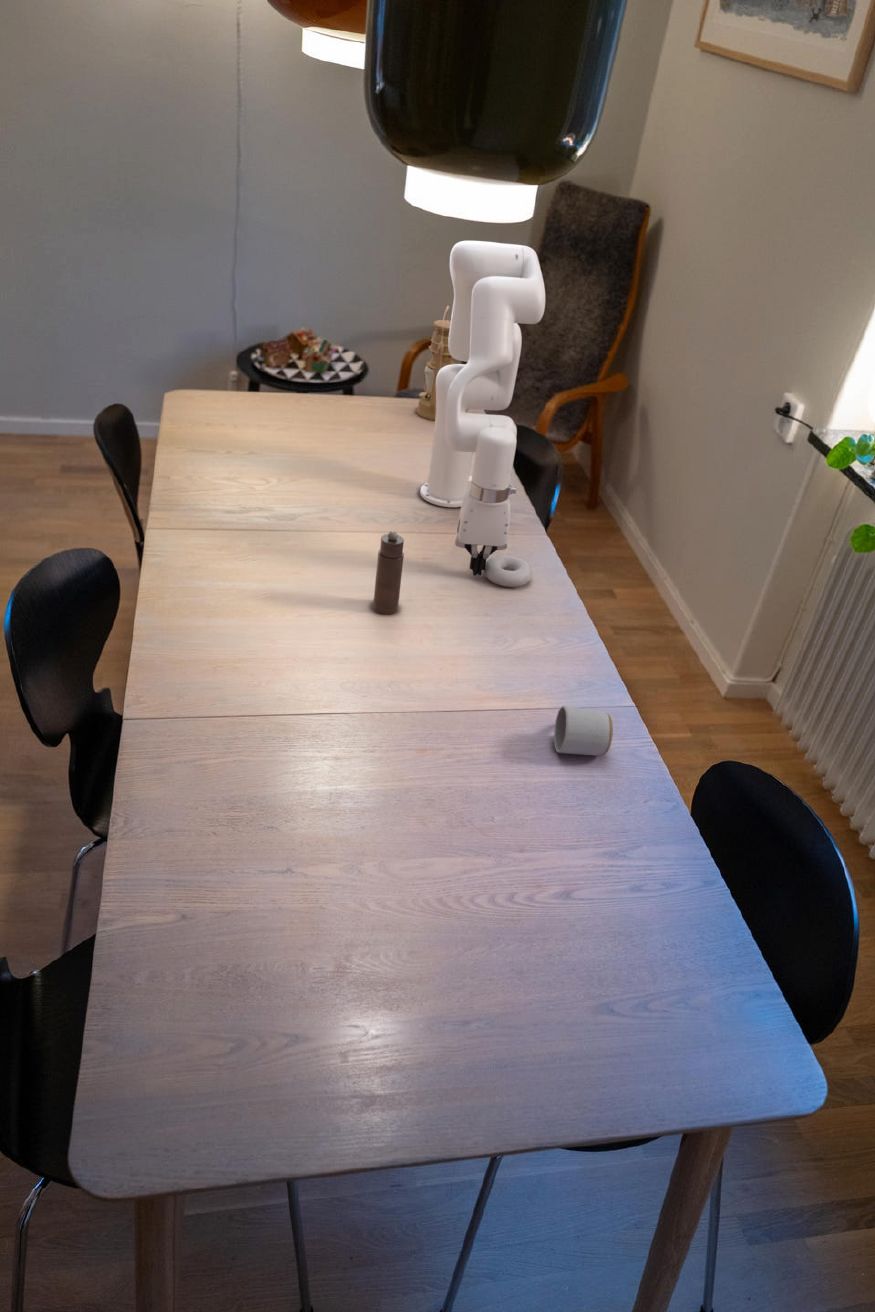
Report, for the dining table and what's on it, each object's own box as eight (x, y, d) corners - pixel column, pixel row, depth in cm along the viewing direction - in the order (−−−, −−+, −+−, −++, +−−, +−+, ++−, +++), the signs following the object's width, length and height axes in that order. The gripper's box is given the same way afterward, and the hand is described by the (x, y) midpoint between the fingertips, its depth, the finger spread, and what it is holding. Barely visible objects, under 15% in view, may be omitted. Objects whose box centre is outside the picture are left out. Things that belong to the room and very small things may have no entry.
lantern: (413, 403, 289) (424, 296, 272) (448, 405, 291) (462, 299, 274) (420, 422, 276) (432, 312, 260) (457, 424, 278) (471, 315, 262)
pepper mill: (389, 599, 196) (397, 523, 186) (402, 611, 192) (411, 535, 183) (368, 604, 193) (375, 528, 184) (381, 616, 190) (388, 539, 181)
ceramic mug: (608, 765, 160) (618, 727, 156) (558, 762, 160) (567, 724, 155) (595, 725, 169) (605, 688, 165) (548, 722, 168) (556, 685, 164)
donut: (530, 593, 204) (530, 569, 213) (533, 579, 202) (533, 555, 211) (481, 586, 204) (484, 562, 213) (484, 572, 202) (486, 548, 211)
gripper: (523, 485, 201) (509, 566, 211) (450, 480, 199) (439, 561, 209) (529, 501, 195) (514, 583, 205) (453, 496, 193) (442, 579, 203)
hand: (476, 572), depth 207 cm, fingers closed
